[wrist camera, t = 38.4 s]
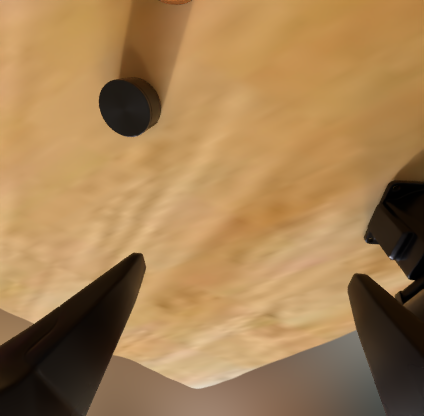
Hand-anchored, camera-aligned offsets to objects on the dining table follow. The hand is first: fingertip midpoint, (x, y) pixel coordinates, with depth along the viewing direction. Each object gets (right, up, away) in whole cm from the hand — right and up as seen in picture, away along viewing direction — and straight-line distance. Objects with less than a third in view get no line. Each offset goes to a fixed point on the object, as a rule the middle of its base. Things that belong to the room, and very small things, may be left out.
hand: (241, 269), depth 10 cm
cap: (-8, +10, +7) cm, 14 cm away
